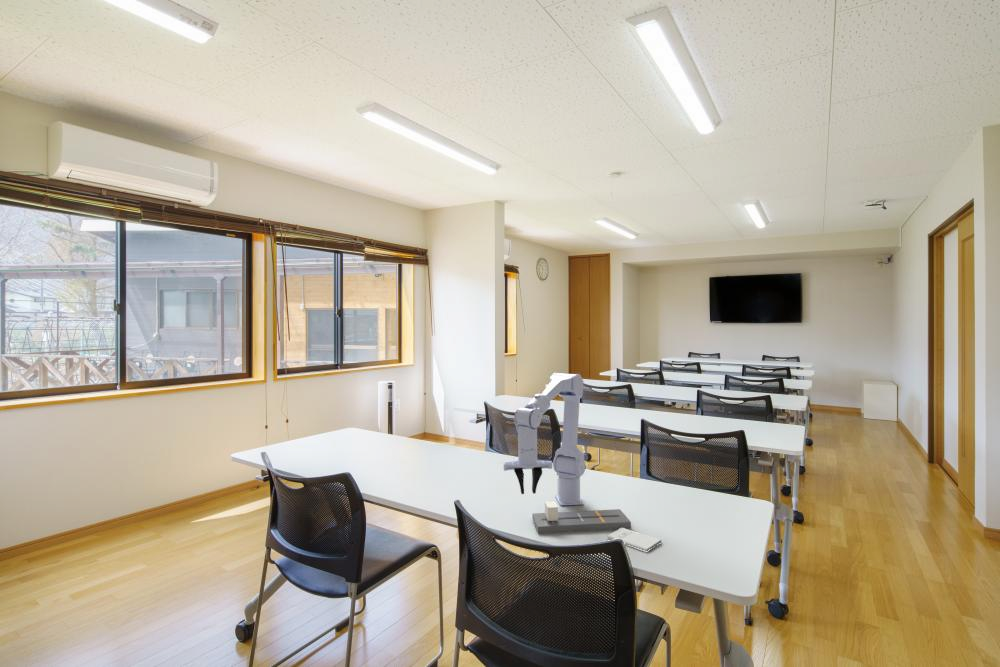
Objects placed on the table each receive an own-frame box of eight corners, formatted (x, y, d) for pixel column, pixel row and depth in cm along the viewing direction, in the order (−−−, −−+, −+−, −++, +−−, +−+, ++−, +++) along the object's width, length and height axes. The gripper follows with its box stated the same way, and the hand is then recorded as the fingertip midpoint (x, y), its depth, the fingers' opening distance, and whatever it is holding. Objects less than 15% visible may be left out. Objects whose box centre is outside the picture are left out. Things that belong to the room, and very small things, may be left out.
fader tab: (544, 514, 157) (544, 501, 157) (554, 514, 157) (554, 501, 157) (548, 521, 152) (547, 507, 152) (557, 520, 152) (557, 507, 152)
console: (532, 519, 159) (532, 513, 159) (619, 515, 162) (619, 508, 162) (537, 533, 149) (537, 526, 149) (630, 528, 152) (630, 521, 152)
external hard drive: (646, 555, 137) (607, 540, 145) (661, 545, 142) (622, 531, 151) (646, 549, 137) (607, 535, 145) (661, 539, 142) (622, 526, 151)
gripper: (505, 452, 149) (505, 498, 149) (554, 450, 150) (554, 496, 151) (502, 446, 156) (503, 490, 156) (549, 444, 157) (549, 488, 158)
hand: (528, 492), depth 154 cm, fingers open, 3 cm apart
